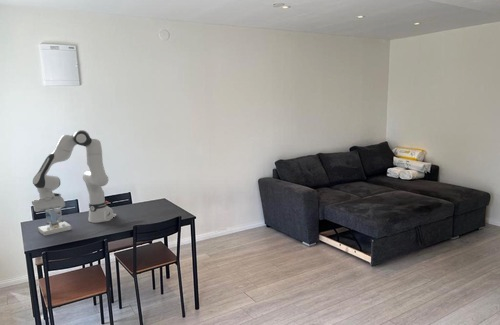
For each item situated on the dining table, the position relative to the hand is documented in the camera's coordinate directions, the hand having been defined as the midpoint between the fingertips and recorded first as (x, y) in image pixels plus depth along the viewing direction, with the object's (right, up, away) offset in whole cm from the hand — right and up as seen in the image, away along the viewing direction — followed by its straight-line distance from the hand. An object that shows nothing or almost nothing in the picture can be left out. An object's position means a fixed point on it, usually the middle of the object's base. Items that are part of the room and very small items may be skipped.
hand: (52, 213), depth 261 cm
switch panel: (+2, -12, +1) cm, 12 cm away
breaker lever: (+1, -9, +1) cm, 9 cm away
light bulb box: (-9, -9, +20) cm, 24 cm away
